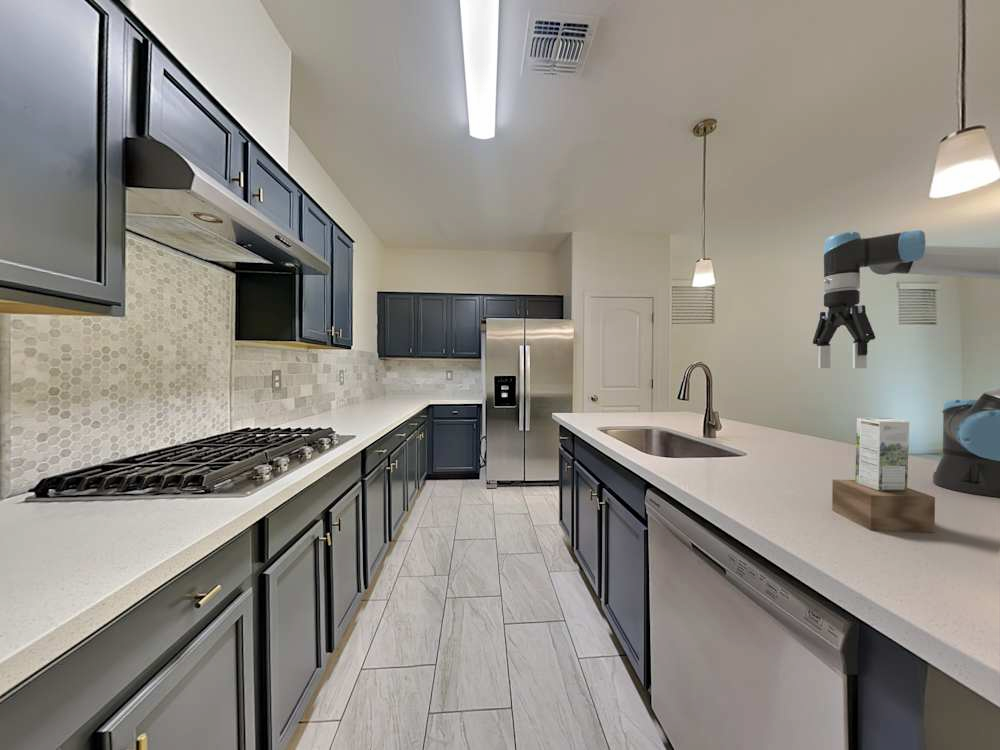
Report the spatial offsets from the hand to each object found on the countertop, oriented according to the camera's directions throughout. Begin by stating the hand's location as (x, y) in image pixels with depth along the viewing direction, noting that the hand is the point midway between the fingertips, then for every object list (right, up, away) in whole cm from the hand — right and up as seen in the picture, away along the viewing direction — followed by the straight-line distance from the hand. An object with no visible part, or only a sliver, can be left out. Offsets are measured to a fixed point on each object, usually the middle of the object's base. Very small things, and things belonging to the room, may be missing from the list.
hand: (840, 368), depth 110 cm
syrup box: (-15, -26, -27) cm, 40 cm away
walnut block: (-15, -32, -27) cm, 45 cm away
